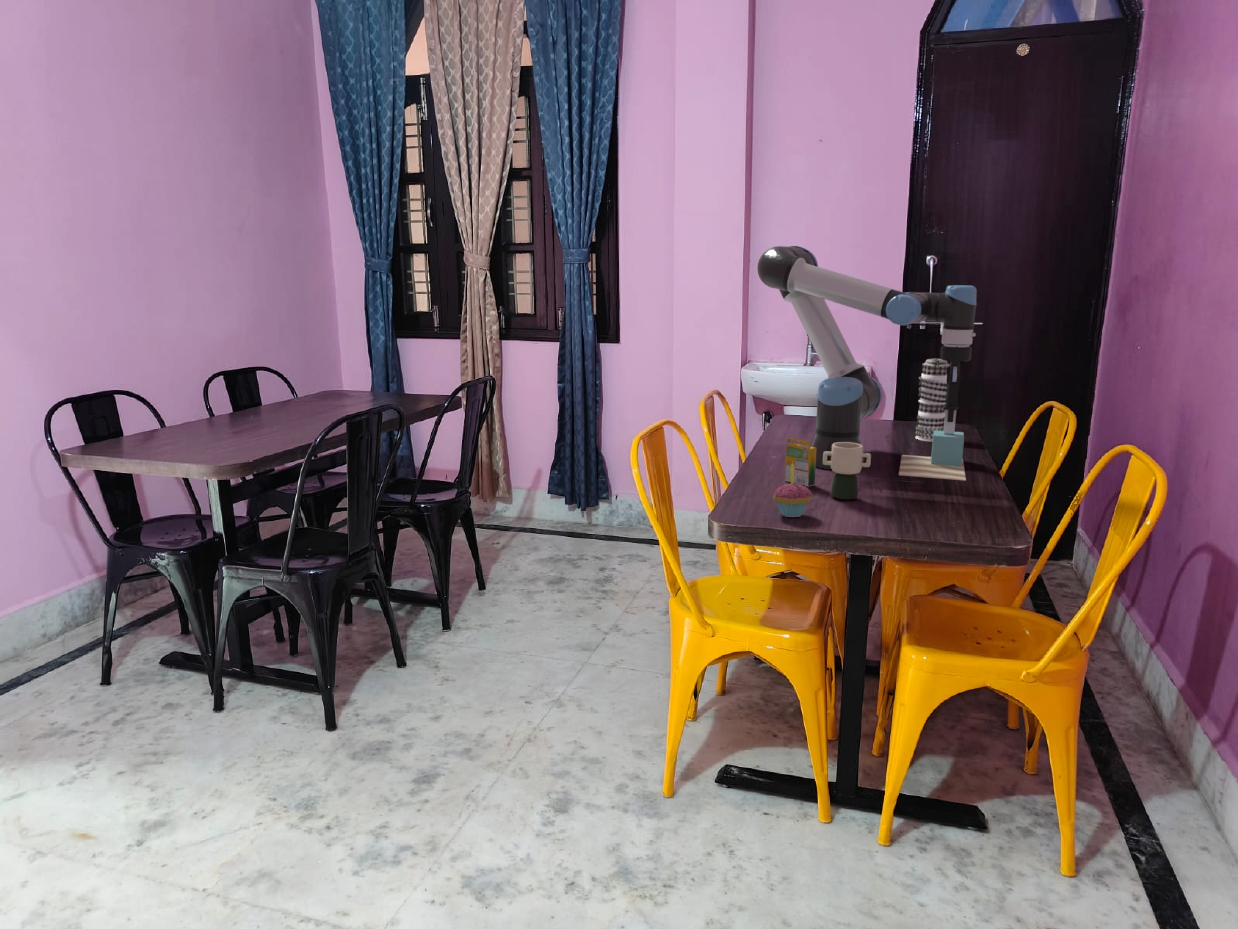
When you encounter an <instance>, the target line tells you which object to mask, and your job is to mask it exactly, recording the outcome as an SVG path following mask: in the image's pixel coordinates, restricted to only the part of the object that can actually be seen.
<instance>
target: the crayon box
mask: <svg viewBox="0 0 1238 929" xmlns="http://www.w3.org/2000/svg"><path fill="white" fill-rule="evenodd" d="M798 442H799V443H800V444H798ZM816 450H817V448H815V447H811V441H806V440H801V439H797V438H792V437H791V438H790V437H787V438H786V454H785V455H786V456H785V471H784V472H785V473H784V481H785V480H786V481H789V482H791V465H792V461H793V465H794V483H798V484H802V485H805V486H804V487H806V486H810V485H813V484H815V482H816V468H817V467H816ZM789 482H788V483H789ZM810 487H811V486H810Z"/></svg>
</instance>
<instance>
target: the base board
mask: <svg viewBox="0 0 1238 929" xmlns="http://www.w3.org/2000/svg"><path fill="white" fill-rule="evenodd" d="M898 476H901V477H903V476H904V477H916V478H929V479H930V478H931V479H940V480H942V479H943V480H954V481H967V478H966V472H965V464H964V459H963V458H962V465H961V466H949V465H936V464H931V456H923V455H910V454H909V455H908V454H901V458H900V464H899V471H898Z"/></svg>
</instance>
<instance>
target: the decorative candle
mask: <svg viewBox="0 0 1238 929" xmlns="http://www.w3.org/2000/svg"><path fill="white" fill-rule="evenodd" d="M948 362H949V361H944V360H942V359H941V358H928V359H926V360H925V362H924V363H922V370H921V371H922V373H921V376H919V377H918V380H919V381H918V385H919V386H920V387H919V388H918V391H919V393H918V394H917V396H918V397H919V399H918V401H917V402H918V403H919V407H918V412H917V413H918V414H917V416H916V419H917V421H916V424H917V425H916V426H915V430H916V431H915V432H914V433H915V436H914V437H915V438H914V439H916V440H917V439H918V441H922V442H929V443H931V442H932V443H933V432H934V430H936V431H944V420H945V410H943V407H946V400H947V388H948V384H947V381H946V380H947V373H946V369H947V367H950V363H948Z"/></svg>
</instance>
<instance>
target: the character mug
mask: <svg viewBox="0 0 1238 929" xmlns="http://www.w3.org/2000/svg"><path fill="white" fill-rule="evenodd" d="M828 455H829V456H831V461H827V456H828ZM863 457H864V458H866V462H863V463H862V458H863ZM871 459H872V454H871V453H865V452H864V445H863V444H862V443H861V444H857V443H851V442H838V443H833V444H832V452H829V451H825V452H824V453H823V464H824V465H831V469H832V470H831V471H832V472H833V473H835V474H834V476H833V480H832V484H831V489H830V495H831V497H834V498H836V499H840V500H854V499H857V498H858V496H859V487H858V486H859V485H858V484H859V483H858V477H857V475H856V474H860V473H861V470H862V468H870V466H871V463H872V462H871V461H872V460H871Z"/></svg>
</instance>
